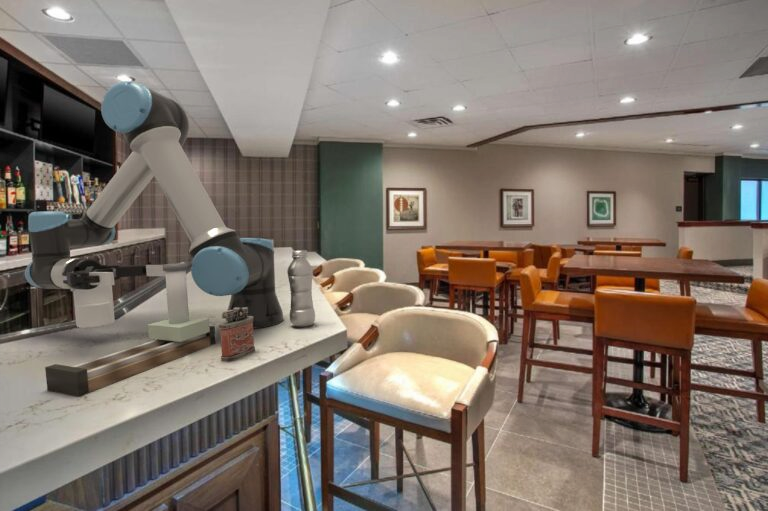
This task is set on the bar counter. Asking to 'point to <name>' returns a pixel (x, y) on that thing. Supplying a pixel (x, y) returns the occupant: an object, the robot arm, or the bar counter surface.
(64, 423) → the bar counter surface
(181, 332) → the carriage
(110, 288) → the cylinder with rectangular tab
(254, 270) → the robot arm
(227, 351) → the lighter
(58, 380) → the rail track
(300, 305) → the plastic bottle
